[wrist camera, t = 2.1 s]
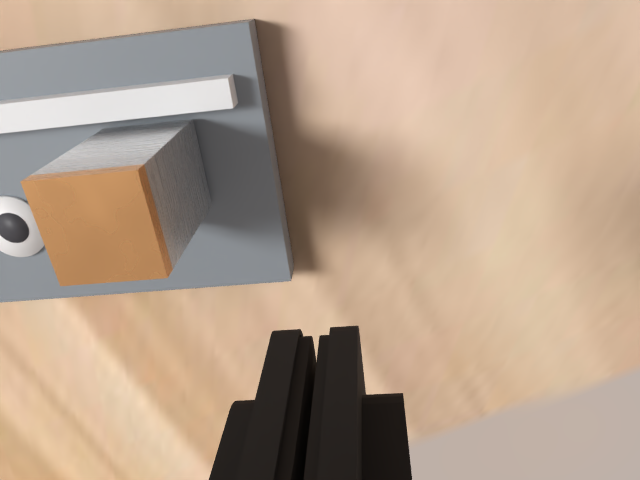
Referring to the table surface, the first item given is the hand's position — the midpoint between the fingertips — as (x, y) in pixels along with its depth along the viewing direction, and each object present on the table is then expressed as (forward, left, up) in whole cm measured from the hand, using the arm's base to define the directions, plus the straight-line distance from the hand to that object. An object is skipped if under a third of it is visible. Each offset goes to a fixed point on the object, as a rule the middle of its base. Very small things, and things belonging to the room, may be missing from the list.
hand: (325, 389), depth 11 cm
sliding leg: (0, -8, -14) cm, 17 cm away
